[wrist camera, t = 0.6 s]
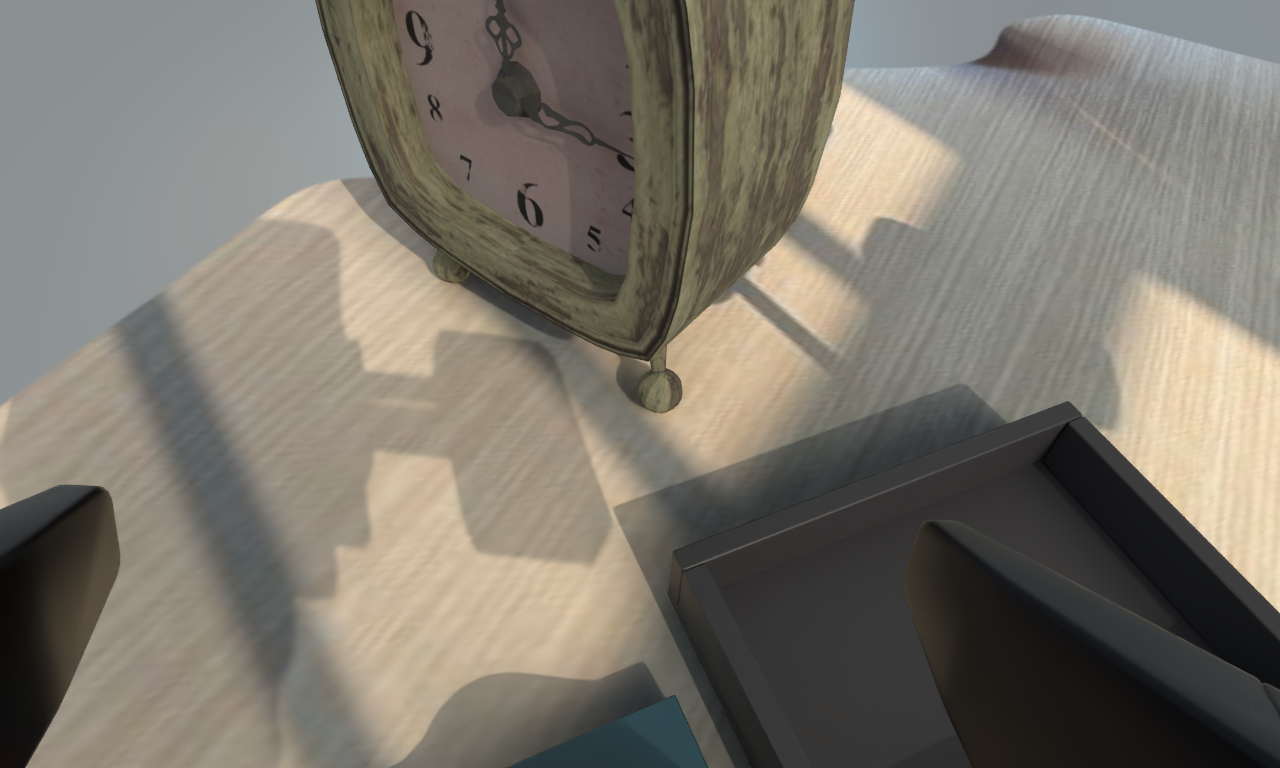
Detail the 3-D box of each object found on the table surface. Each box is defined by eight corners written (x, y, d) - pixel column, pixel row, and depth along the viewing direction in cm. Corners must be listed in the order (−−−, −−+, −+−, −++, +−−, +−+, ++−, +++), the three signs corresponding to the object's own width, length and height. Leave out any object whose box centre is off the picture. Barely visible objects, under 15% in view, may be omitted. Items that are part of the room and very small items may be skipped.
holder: (1293, 728, 22) (1361, 693, 20) (855, 981, 19) (885, 969, 16) (1036, 448, 29) (1068, 399, 27) (667, 593, 25) (671, 550, 23)
